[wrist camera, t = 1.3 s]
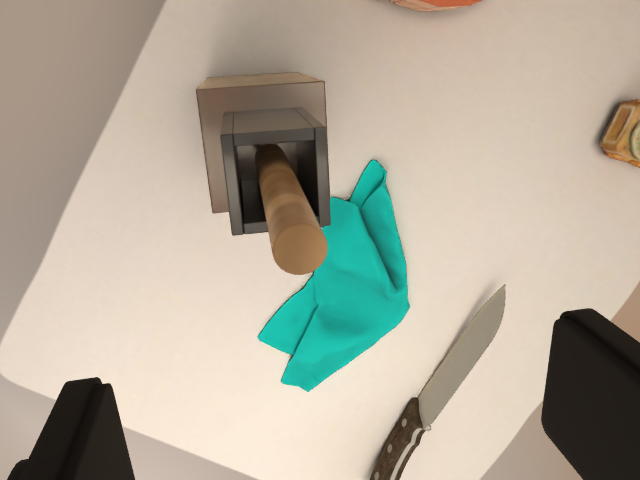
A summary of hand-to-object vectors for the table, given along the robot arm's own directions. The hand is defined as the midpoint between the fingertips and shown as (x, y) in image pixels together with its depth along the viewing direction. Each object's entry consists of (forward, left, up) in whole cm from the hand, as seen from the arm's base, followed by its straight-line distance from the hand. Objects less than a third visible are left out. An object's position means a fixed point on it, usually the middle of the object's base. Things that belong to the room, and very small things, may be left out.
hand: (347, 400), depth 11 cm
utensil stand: (0, +1, -39) cm, 39 cm away
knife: (+17, -31, -39) cm, 52 cm away
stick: (0, +1, -25) cm, 25 cm away
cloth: (+8, -17, -39) cm, 43 cm away
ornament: (+38, -3, -39) cm, 54 cm away
